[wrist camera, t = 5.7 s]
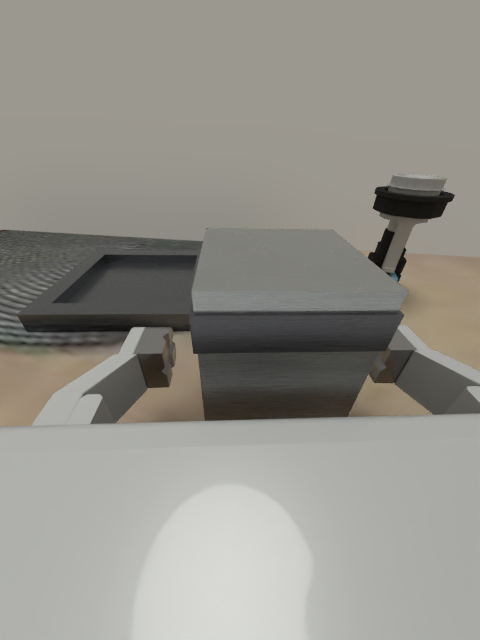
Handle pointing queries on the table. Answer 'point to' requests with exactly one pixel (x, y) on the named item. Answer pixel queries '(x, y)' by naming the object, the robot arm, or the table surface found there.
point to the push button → (405, 215)
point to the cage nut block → (287, 322)
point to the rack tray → (118, 293)
